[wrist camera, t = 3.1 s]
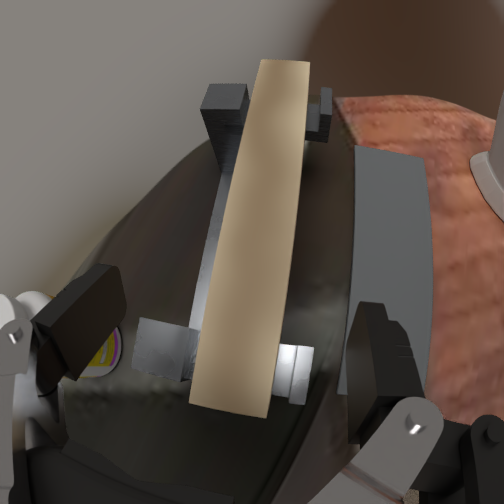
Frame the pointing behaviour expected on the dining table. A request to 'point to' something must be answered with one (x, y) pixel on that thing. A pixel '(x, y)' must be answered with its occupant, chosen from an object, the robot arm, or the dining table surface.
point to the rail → (255, 248)
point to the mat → (392, 247)
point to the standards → (187, 339)
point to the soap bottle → (492, 167)
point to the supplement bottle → (32, 302)
